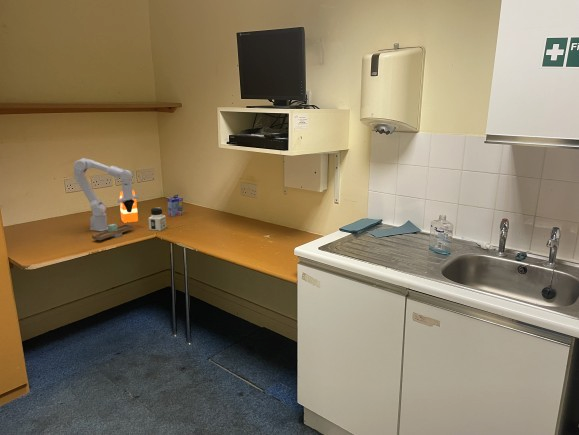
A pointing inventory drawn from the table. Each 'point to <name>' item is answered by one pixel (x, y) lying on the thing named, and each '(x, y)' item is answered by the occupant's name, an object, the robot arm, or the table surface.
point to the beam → (113, 234)
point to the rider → (112, 227)
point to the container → (157, 220)
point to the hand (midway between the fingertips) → (129, 212)
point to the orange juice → (126, 215)
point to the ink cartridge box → (175, 206)
